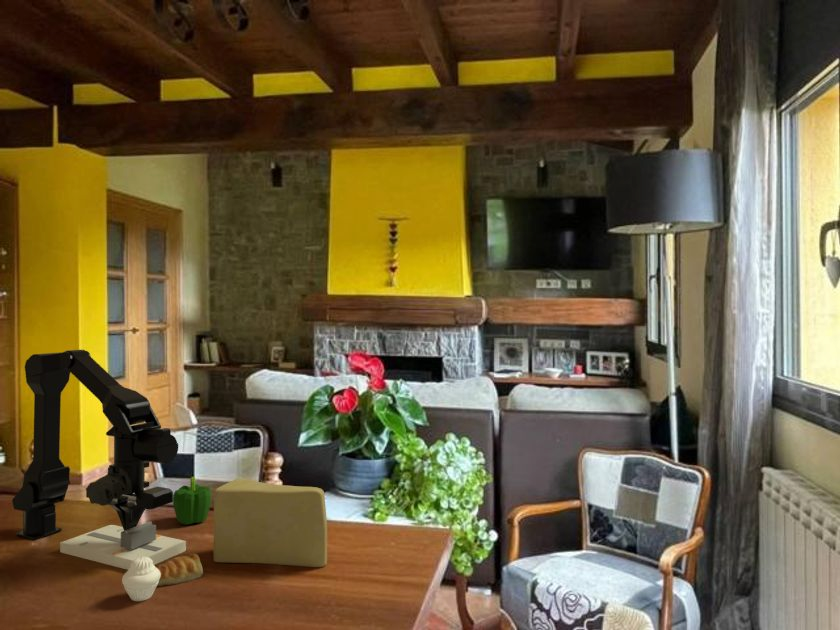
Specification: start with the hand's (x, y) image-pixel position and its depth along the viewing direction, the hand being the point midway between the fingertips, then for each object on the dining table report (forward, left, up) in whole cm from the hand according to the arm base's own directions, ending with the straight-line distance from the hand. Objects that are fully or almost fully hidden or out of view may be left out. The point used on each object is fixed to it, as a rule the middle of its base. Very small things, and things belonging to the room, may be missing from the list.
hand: (129, 535), depth 129 cm
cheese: (+29, +10, -4) cm, 31 cm away
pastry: (+18, -4, -4) cm, 19 cm away
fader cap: (+3, 0, -1) cm, 3 cm away
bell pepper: (-3, +20, -4) cm, 21 cm away
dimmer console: (-2, 0, -4) cm, 4 cm away
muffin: (+18, -13, -4) cm, 23 cm away
